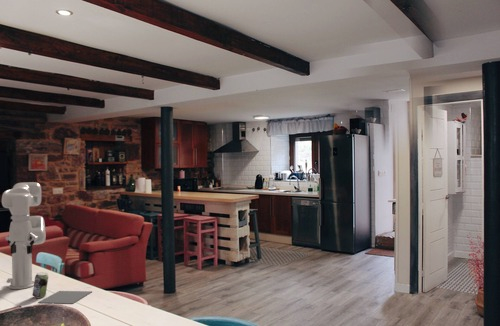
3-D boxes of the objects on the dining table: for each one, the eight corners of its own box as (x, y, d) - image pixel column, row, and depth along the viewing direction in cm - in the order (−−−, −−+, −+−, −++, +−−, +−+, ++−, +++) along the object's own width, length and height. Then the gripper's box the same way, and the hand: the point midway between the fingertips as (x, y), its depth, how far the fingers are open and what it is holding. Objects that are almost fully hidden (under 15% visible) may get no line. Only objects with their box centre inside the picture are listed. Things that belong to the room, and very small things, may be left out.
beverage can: (33, 296, 210) (32, 272, 210) (49, 294, 212) (48, 270, 212) (31, 299, 204) (31, 275, 204) (48, 297, 206) (47, 273, 206)
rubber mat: (37, 303, 198) (37, 302, 198) (59, 291, 216) (59, 290, 216) (73, 303, 196) (73, 303, 196) (92, 292, 214) (91, 291, 214)
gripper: (-1, 219, 206) (0, 254, 206) (32, 219, 204) (33, 255, 204) (10, 217, 214) (10, 251, 214) (41, 217, 212) (42, 251, 212)
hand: (21, 253), depth 209 cm, fingers open, 8 cm apart
